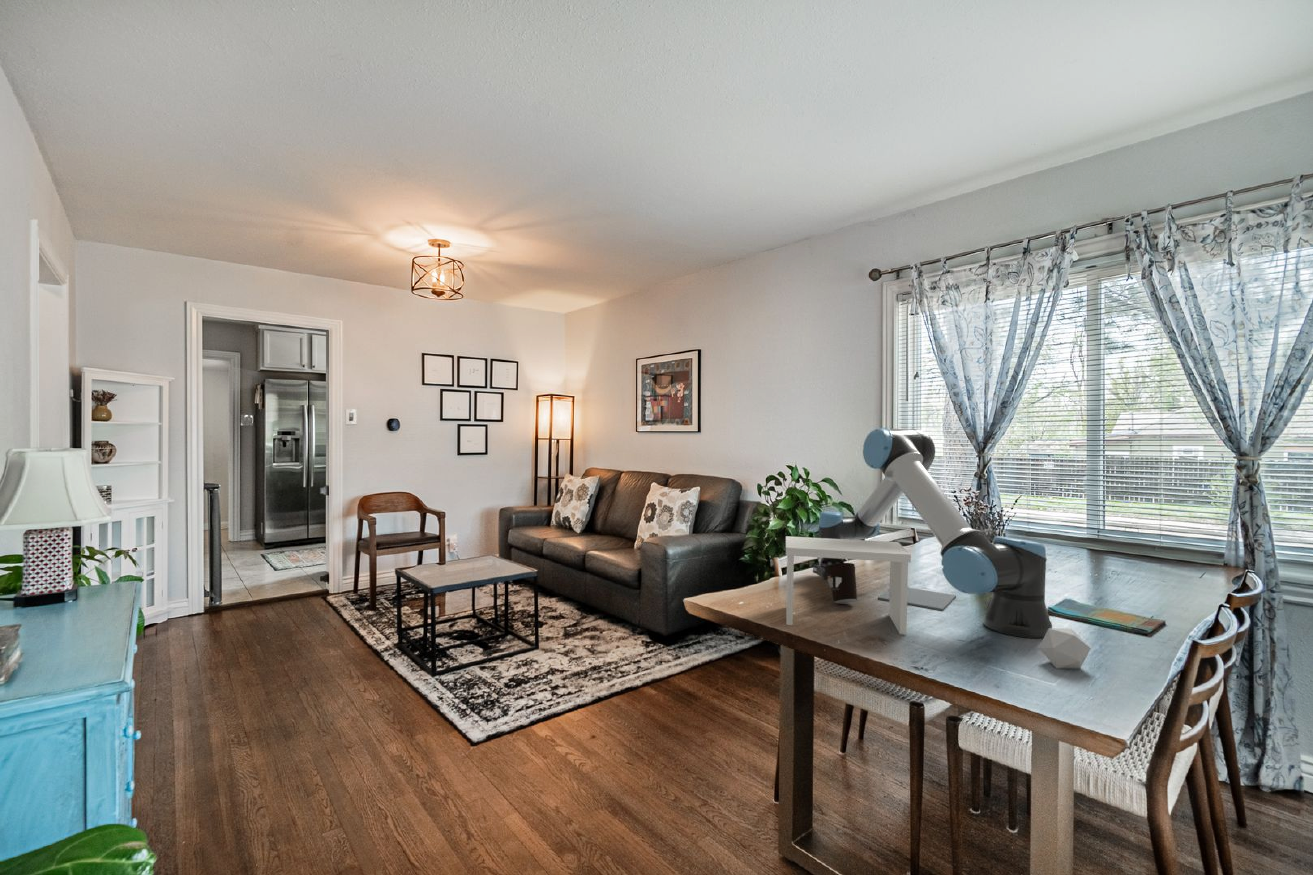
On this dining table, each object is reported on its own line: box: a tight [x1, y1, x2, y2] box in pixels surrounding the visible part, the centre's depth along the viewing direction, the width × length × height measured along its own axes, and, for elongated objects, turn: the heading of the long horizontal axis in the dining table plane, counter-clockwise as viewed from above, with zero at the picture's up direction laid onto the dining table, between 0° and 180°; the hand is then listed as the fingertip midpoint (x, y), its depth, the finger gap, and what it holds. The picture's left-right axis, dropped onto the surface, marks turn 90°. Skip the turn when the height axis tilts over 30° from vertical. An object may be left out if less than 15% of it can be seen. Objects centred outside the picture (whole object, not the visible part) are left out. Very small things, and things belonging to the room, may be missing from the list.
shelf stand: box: [785, 535, 912, 636], centre depth 161 cm, size 17×30×20 cm, turn 78°
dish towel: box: [1046, 597, 1167, 637], centre depth 166 cm, size 17×23×2 cm
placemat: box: [877, 587, 957, 612], centre depth 183 cm, size 18×18×1 cm
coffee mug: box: [824, 562, 858, 604], centre depth 177 cm, size 12×9×10 cm
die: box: [1038, 627, 1092, 670], centre depth 131 cm, size 8×9×10 cm
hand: (838, 582), depth 173 cm, fingers closed
